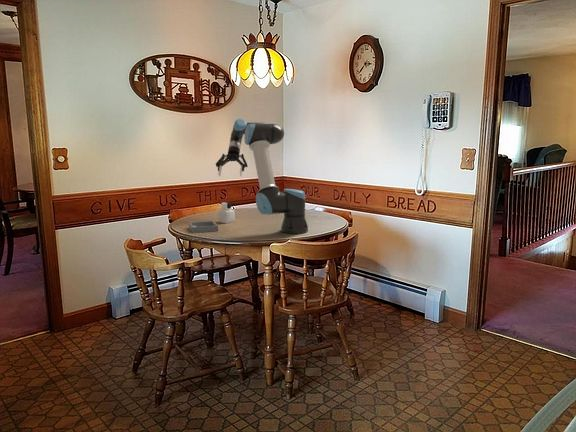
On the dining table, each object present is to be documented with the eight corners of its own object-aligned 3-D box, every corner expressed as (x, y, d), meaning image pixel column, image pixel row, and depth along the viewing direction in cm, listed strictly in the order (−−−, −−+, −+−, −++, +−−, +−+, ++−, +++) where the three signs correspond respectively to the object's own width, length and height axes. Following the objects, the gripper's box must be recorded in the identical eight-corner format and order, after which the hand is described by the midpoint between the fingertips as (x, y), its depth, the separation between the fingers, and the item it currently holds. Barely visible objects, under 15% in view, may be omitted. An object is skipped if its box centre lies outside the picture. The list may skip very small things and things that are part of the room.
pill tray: (218, 230, 252) (217, 225, 251) (192, 232, 247) (192, 227, 246) (213, 225, 265) (213, 220, 264) (189, 227, 260) (188, 222, 259)
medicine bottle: (226, 220, 281) (226, 201, 279) (234, 221, 277) (234, 202, 274) (218, 221, 276) (217, 202, 273) (226, 223, 271) (225, 203, 269)
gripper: (253, 153, 296) (250, 178, 284) (216, 153, 298) (211, 178, 286) (252, 145, 289) (248, 171, 278) (214, 145, 292) (209, 170, 280)
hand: (230, 174), depth 282 cm, fingers open, 13 cm apart
